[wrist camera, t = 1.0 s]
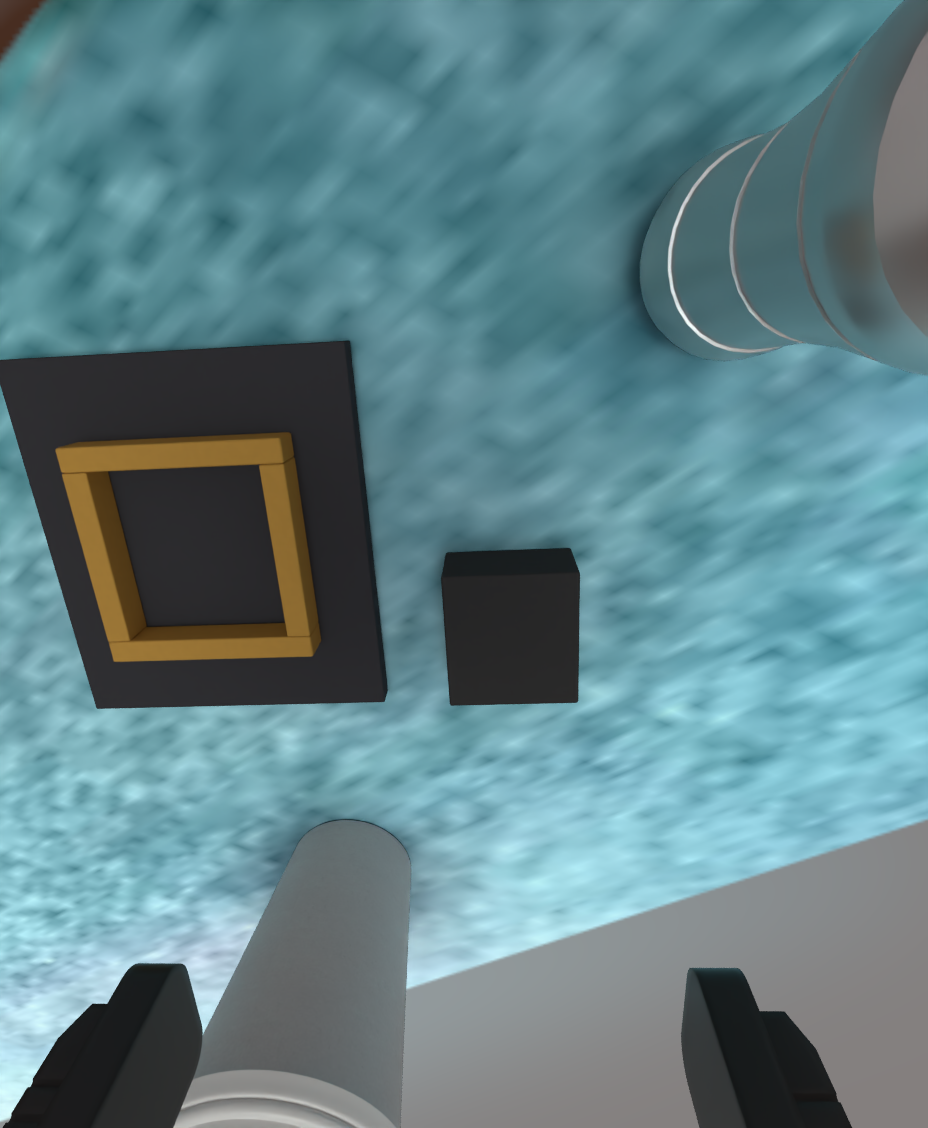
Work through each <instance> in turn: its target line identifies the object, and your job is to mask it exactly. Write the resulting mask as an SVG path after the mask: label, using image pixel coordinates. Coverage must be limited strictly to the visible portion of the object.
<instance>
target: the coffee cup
mask: <svg viewBox="0 0 928 1128" xmlns="http://www.w3.org/2000/svg"><path fill="white" fill-rule="evenodd" d="M410 889H411V863H410V859H409V857H408V854H407V852H406V850H405V849H404V847H403V846H402V845H401V843H400V842H399V841H398V840H397V839H396V838H395V837H394V836H392V835H391V834H390V833H388V832H387V831H385V830H383V829H381V828H379V827H377V826H375V825H372V824H369V823H366V822H361V821H355V820H338V821H332V822H328V823H324V824H322V825H319V826H317V827H315V828H313V829H312V830H310V831H309V832H308V833H307V834H305V835H304V836H303V838H302V839H301V840H300V841H299V843H298V845H297V847H296V848H295V850H294V852H293V855H292V857H291V859H290V861H289V863H288V865H287V867H286V869H285V871H284V873H283V875H282V877H281V879H280V881H279V883H278V885H277V887H276V889H275V891H274V893H273V895H272V897H271V899H270V901H269V903H268V905H267V907H266V909H265V911H264V913H263V915H262V917H261V919H260V921H259V923H258V925H257V927H256V929H255V931H254V933H253V935H252V937H251V939H250V941H249V944H248V946H247V948H246V950H245V952H244V954H243V956H242V958H241V960H240V962H239V964H238V966H237V968H236V970H235V972H234V974H233V976H232V978H231V980H230V982H229V984H228V986H227V988H226V990H225V992H224V994H223V996H222V998H221V1000H220V1002H219V1004H218V1006H217V1008H216V1010H215V1012H214V1014H213V1016H212V1018H211V1020H210V1022H209V1024H208V1026H207V1028H206V1030H205V1032H204V1034H203V1036H202V1048H201V1054H200V1058H199V1062H198V1066H197V1069H196V1072H195V1075H194V1078H193V1080H192V1083H191V1085H190V1088H189V1090H188V1093H187V1095H186V1097H185V1100H184V1102H183V1105H182V1107H181V1110H180V1112H179V1115H178V1117H177V1120H176V1122H175V1125H174V1127H173V1128H401V1101H402V1099H401V1098H402V1075H403V1048H404V1024H405V1023H404V1022H405V1001H406V979H407V956H408V934H409V911H410Z"/></svg>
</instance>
